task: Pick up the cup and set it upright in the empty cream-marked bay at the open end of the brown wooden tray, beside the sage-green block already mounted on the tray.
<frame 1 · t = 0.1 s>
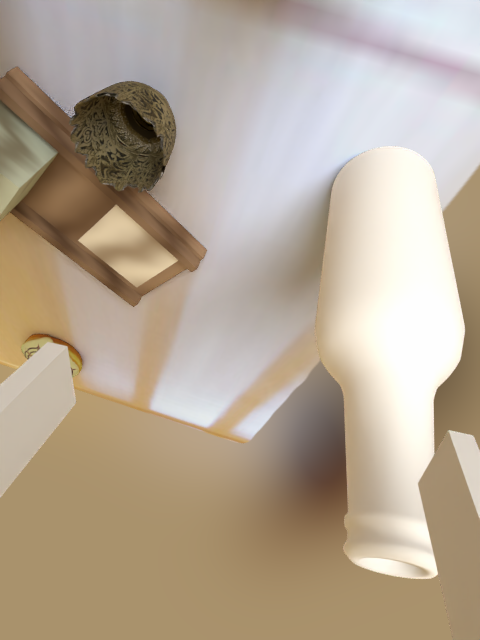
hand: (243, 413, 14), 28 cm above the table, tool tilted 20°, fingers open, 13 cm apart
decorated donut: (58, 347, 72), on the table
cup: (154, 106, 34), on the table
brown wooden tray: (92, 205, 44), on the table
alcohol: (381, 188, 35), on the table
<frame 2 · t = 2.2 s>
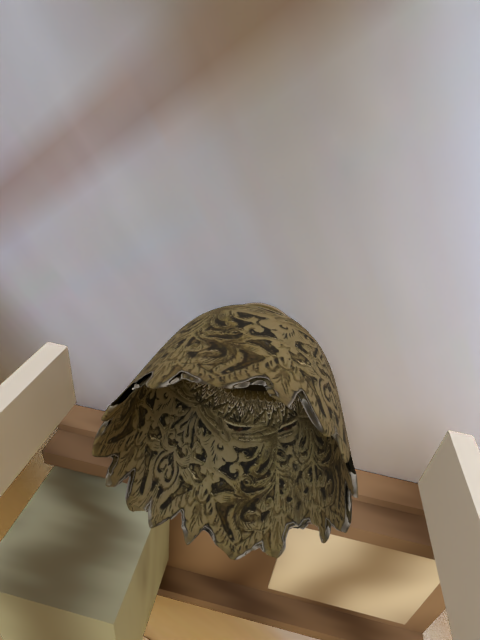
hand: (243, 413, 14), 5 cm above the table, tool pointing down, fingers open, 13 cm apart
cup: (260, 329, 18), on the table
brown wooden tray: (258, 521, 25), on the table
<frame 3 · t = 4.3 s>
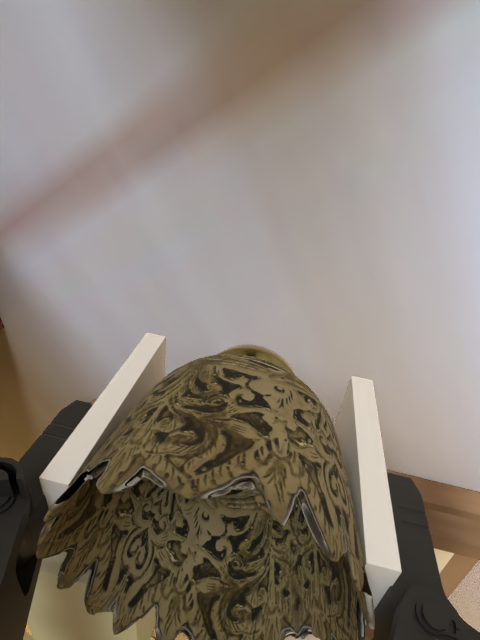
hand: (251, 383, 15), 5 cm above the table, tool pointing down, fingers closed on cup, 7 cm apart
cup: (253, 373, 15), point 4 cm above the table, touching gripper
brown wooden tray: (266, 515, 26), on the table
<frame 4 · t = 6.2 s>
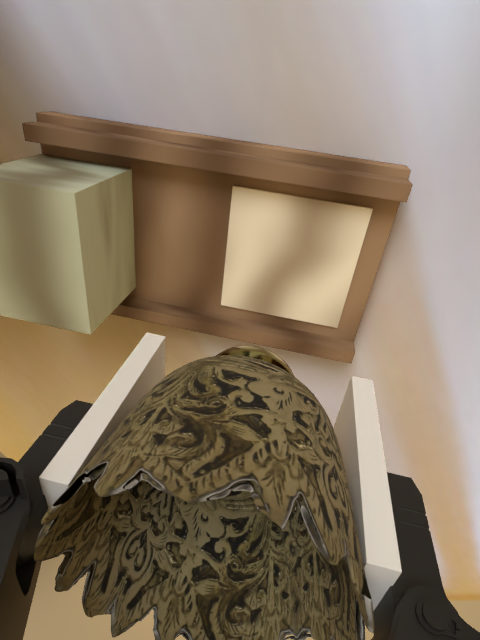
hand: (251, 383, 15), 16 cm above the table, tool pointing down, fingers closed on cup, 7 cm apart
cup: (253, 373, 15), point 15 cm above the table, touching gripper
brown wooden tray: (211, 238, 29), on the table
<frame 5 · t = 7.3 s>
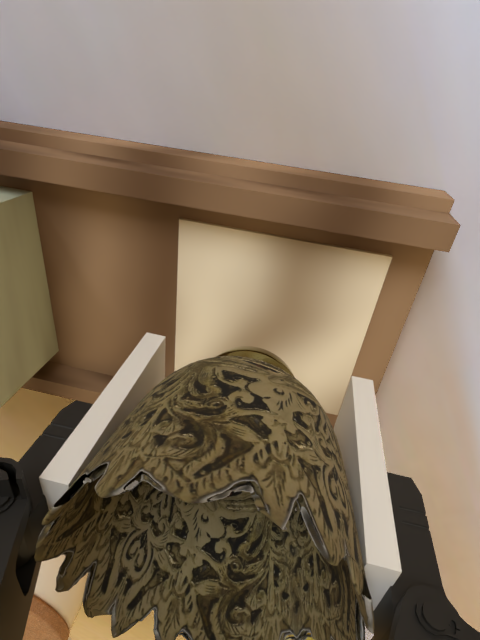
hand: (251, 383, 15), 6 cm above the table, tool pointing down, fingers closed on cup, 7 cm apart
lidded jar: (58, 525, 36), on the table
cup: (253, 374, 15), point 5 cm above the table, touching gripper
brown wooden tray: (159, 288, 21), on the table
when the fingers open (3 cm above the table, at t = 8.3 s): cup stays where it is, resting on brown wooden tray.
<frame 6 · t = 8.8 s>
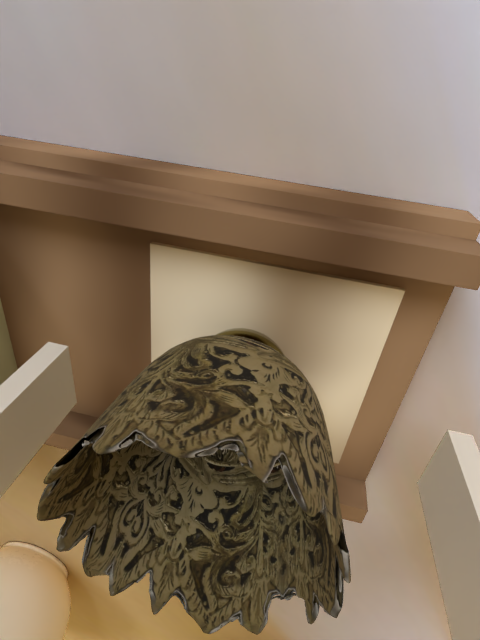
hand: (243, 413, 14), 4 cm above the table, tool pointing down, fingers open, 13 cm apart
lidded jar: (36, 559, 34), on the table
cup: (246, 356, 16), point 2 cm above the table, touching brown wooden tray
brown wooden tray: (134, 317, 18), on the table
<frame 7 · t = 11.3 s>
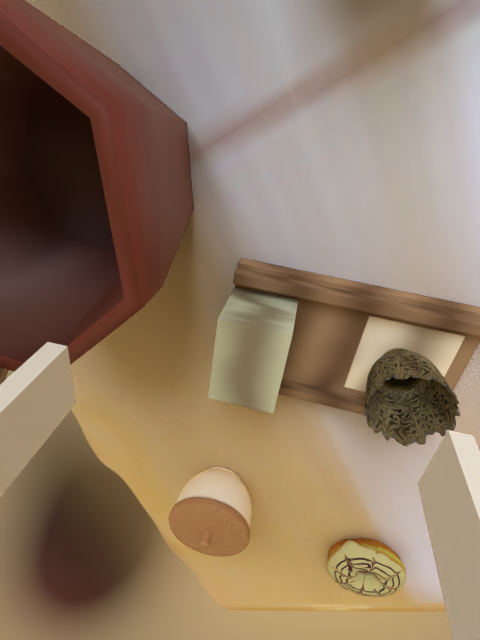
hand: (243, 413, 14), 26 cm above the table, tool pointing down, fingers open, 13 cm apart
decorated donut: (364, 553, 58), on the table
lidded jar: (222, 480, 57), on the table
bucket: (120, 167, 37), on the table
cup: (396, 359, 39), point 2 cm above the table, touching brown wooden tray
brown wooden tray: (341, 341, 41), on the table
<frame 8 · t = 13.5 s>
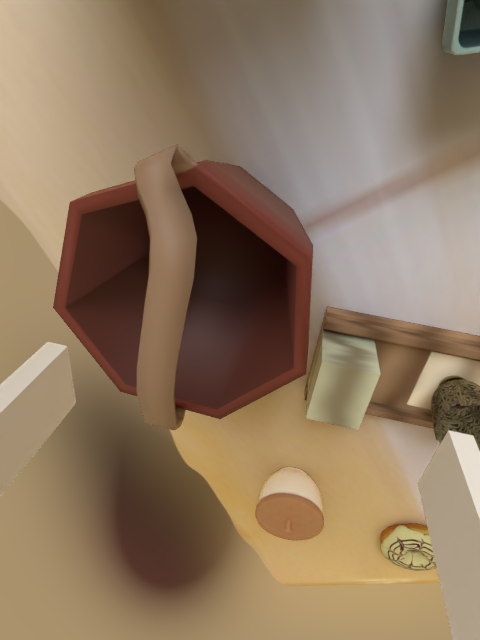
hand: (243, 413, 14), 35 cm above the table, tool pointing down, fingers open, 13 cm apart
decorated donut: (411, 535, 70), on the table
lidded jar: (292, 477, 68), on the table
bucket: (233, 239, 47), on the table
cup: (451, 383, 50), point 2 cm above the table, touching brown wooden tray
brown wooden tray: (404, 368, 52), on the table
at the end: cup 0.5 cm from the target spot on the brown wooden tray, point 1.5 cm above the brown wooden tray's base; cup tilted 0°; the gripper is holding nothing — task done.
